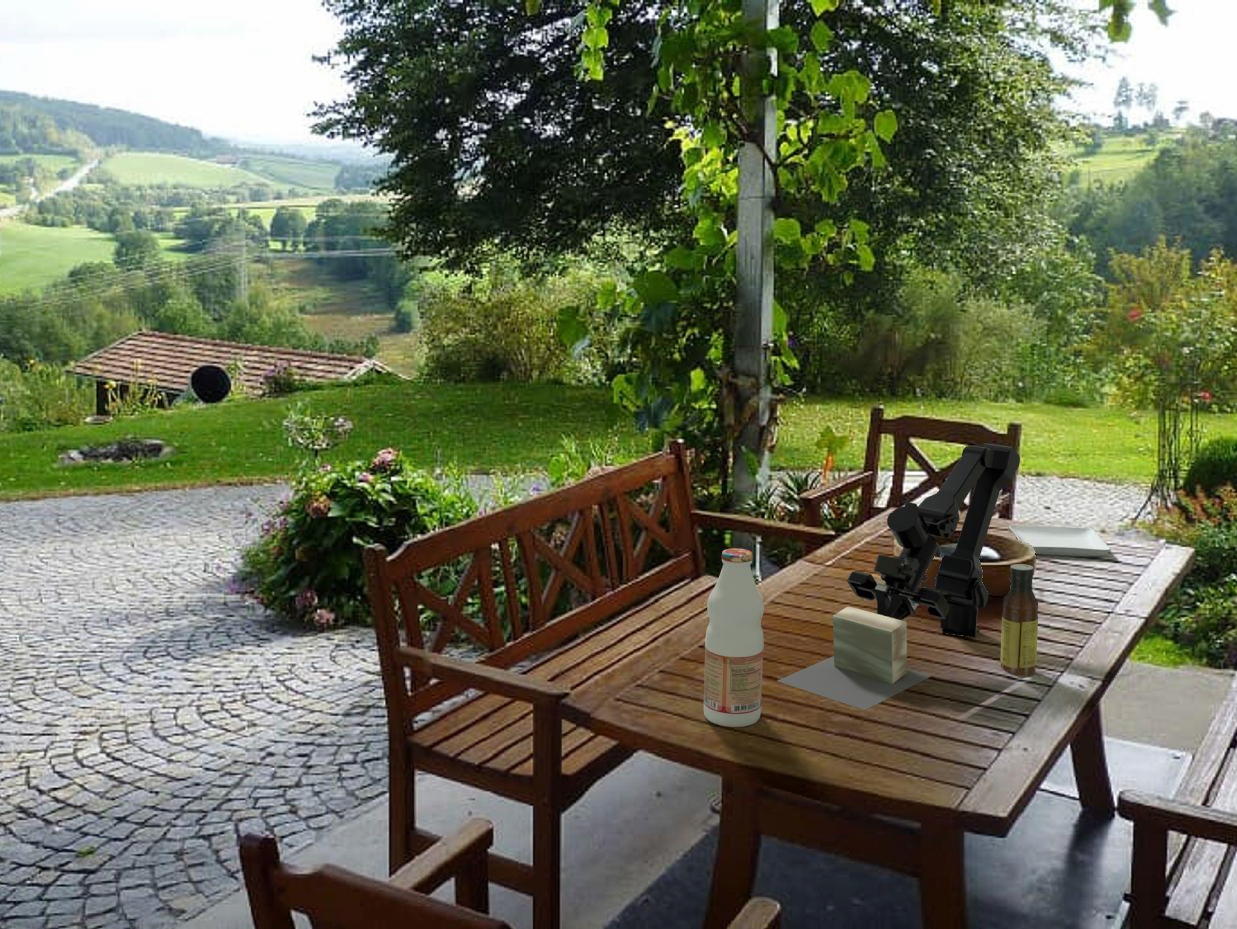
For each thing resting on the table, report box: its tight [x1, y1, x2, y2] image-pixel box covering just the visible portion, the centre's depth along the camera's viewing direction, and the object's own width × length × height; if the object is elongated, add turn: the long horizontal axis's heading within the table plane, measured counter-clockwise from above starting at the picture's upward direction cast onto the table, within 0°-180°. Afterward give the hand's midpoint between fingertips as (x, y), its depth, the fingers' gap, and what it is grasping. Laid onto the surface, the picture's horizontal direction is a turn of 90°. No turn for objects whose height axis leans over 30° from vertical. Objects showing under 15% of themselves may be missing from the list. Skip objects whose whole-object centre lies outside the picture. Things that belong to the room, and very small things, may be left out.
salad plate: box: [1008, 525, 1111, 558], centre depth 298 cm, size 21×21×3 cm
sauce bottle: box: [999, 563, 1039, 677], centre depth 211 cm, size 6×6×20 cm
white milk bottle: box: [703, 548, 765, 728], centre depth 189 cm, size 9×9×28 cm
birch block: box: [832, 606, 908, 684], centre depth 210 cm, size 5×12×10 cm, turn 46°
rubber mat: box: [776, 655, 932, 711], centre depth 208 cm, size 22×18×1 cm
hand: (877, 632), depth 211 cm, fingers closed, pressing on birch block
